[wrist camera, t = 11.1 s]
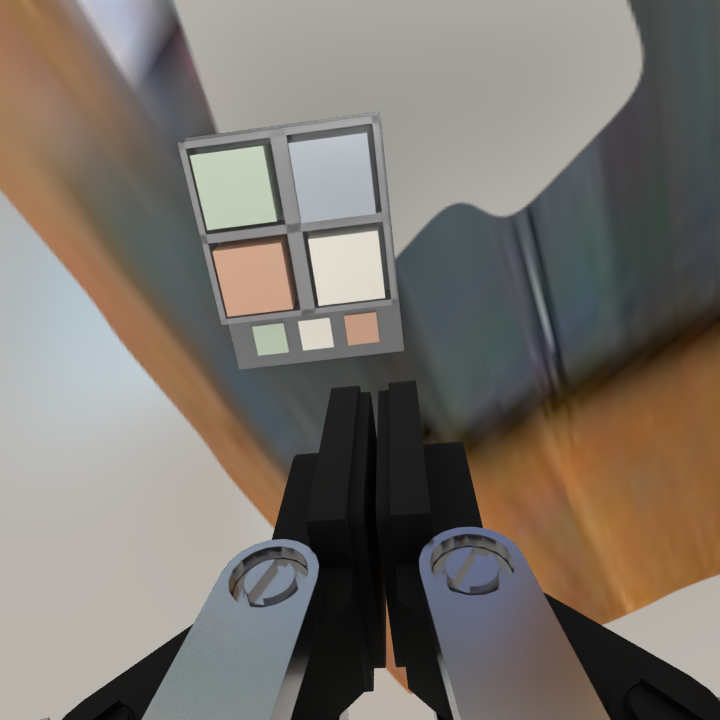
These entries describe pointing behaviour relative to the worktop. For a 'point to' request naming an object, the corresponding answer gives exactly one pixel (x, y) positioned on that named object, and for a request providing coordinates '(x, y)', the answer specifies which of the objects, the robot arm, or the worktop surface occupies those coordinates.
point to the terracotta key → (256, 275)
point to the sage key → (237, 186)
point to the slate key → (333, 177)
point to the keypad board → (305, 257)
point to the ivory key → (347, 264)
